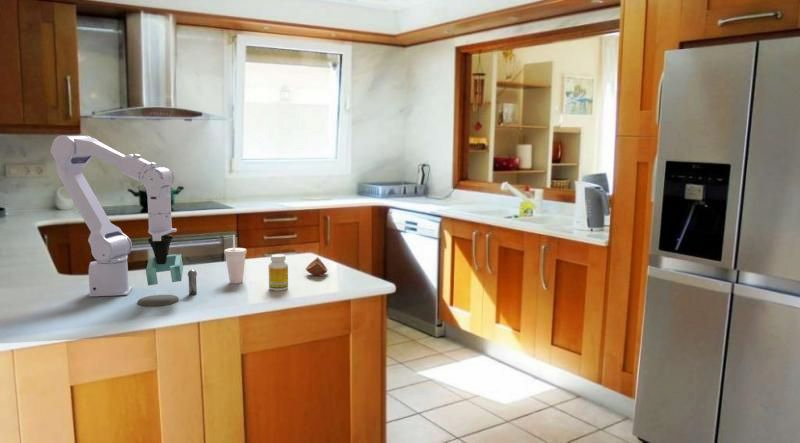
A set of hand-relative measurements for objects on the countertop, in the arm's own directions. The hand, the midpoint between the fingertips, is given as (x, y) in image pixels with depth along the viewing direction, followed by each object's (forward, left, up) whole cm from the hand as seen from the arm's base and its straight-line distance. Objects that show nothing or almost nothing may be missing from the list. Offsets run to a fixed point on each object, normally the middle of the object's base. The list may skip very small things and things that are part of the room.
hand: (161, 263), depth 169 cm
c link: (+2, -4, -3) cm, 5 cm away
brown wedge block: (+43, +17, -9) cm, 47 cm away
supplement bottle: (+31, +2, -9) cm, 32 cm away
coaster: (0, -6, -9) cm, 11 cm away
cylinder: (+8, 0, -9) cm, 12 cm away
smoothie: (+19, +12, -9) cm, 24 cm away
